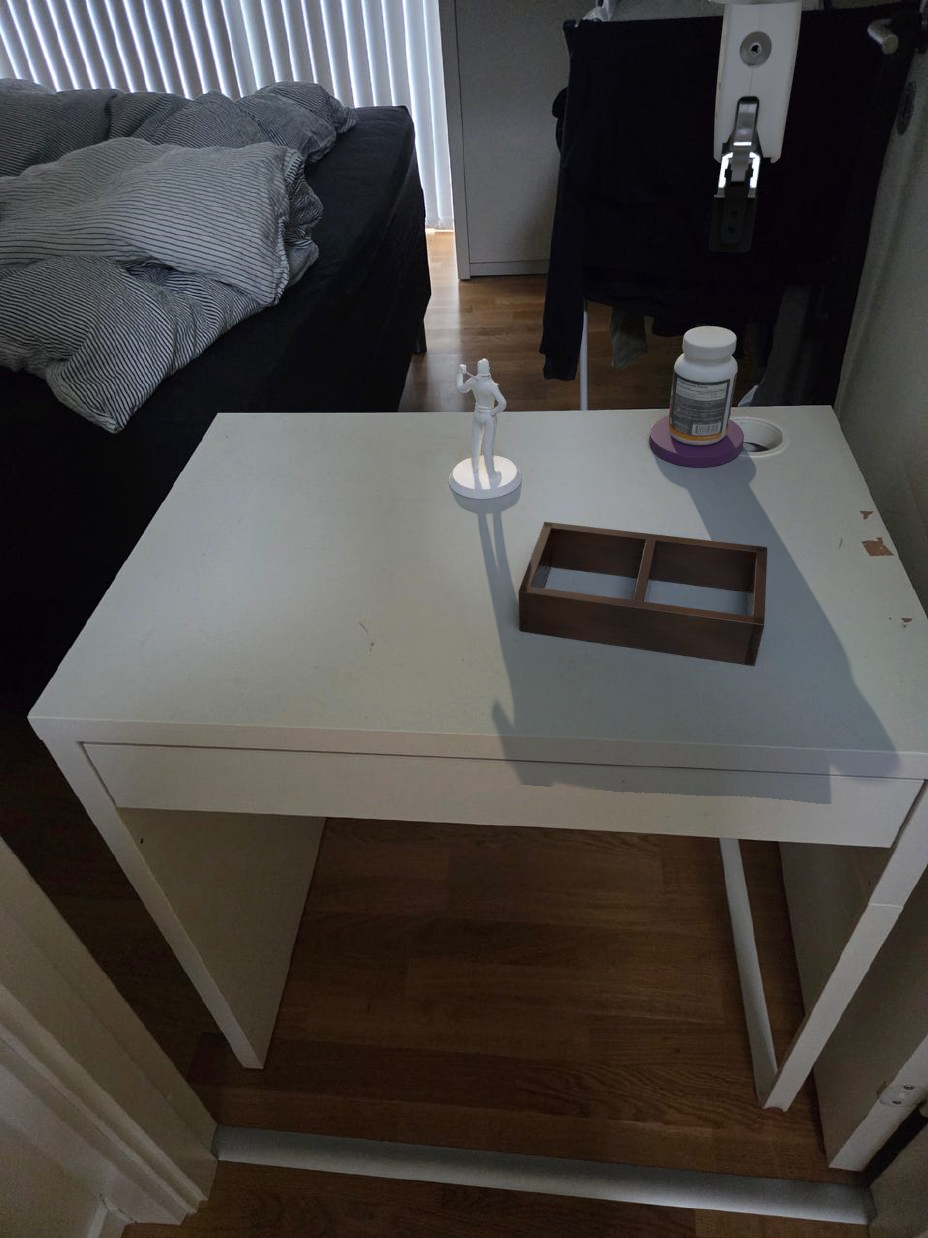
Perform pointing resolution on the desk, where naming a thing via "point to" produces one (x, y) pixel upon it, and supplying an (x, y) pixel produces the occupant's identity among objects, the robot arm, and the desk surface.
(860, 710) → the desk surface
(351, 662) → the desk surface
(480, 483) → the figurine
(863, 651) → the desk surface
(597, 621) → the rack
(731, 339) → the pill bottle
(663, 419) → the disc
